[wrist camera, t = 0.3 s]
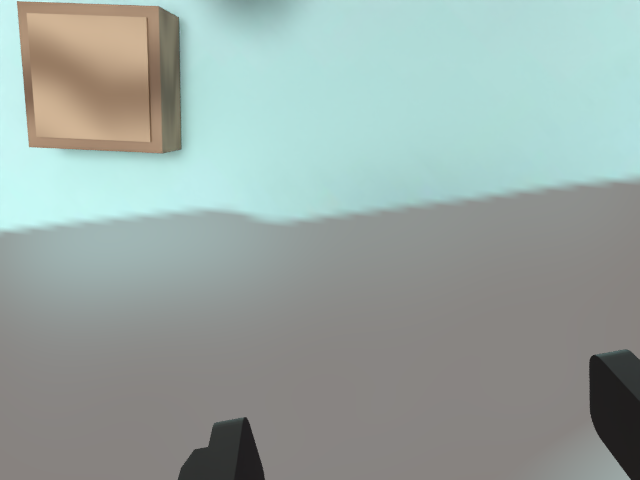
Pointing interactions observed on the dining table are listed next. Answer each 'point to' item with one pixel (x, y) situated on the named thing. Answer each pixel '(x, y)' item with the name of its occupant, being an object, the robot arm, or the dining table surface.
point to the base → (101, 76)
